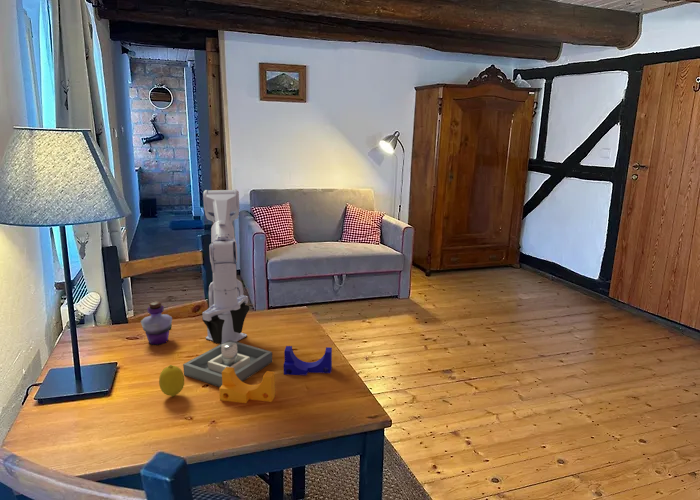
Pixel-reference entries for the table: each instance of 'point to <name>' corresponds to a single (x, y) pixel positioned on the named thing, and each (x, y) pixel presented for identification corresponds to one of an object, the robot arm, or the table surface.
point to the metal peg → (229, 353)
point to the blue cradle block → (306, 363)
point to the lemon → (171, 380)
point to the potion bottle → (157, 324)
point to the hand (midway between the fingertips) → (227, 337)
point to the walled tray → (211, 366)
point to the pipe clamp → (246, 388)
